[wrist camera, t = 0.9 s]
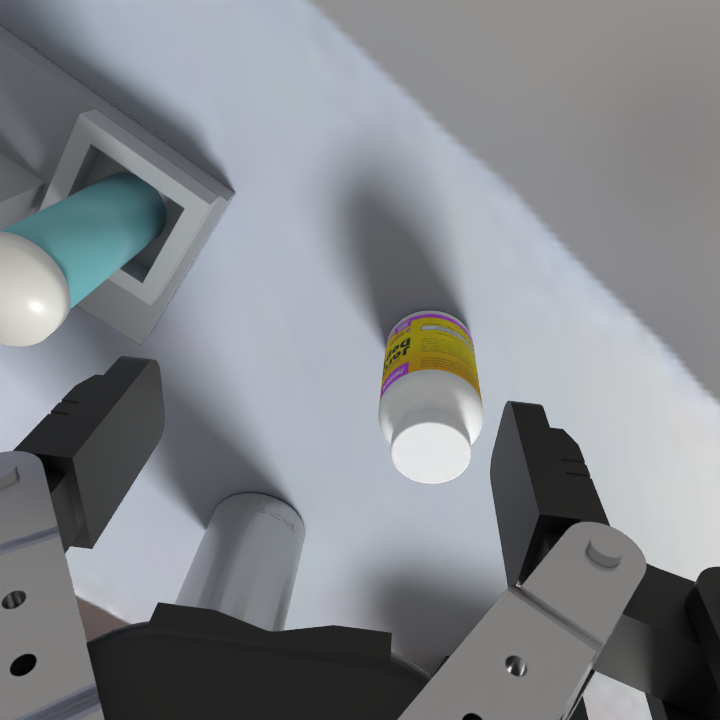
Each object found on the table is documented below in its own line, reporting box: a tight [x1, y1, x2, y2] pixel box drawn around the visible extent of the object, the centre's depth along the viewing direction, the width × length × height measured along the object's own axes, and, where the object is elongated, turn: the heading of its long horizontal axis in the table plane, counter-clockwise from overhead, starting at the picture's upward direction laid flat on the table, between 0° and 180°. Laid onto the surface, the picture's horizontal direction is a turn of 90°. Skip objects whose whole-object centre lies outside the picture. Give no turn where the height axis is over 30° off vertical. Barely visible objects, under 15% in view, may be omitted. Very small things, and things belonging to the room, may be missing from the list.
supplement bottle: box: [379, 310, 483, 484], centre depth 39 cm, size 7×7×13 cm
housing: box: [0, 25, 235, 345], centre depth 37 cm, size 14×19×9 cm
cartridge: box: [0, 173, 166, 347], centre depth 33 cm, size 5×5×14 cm
